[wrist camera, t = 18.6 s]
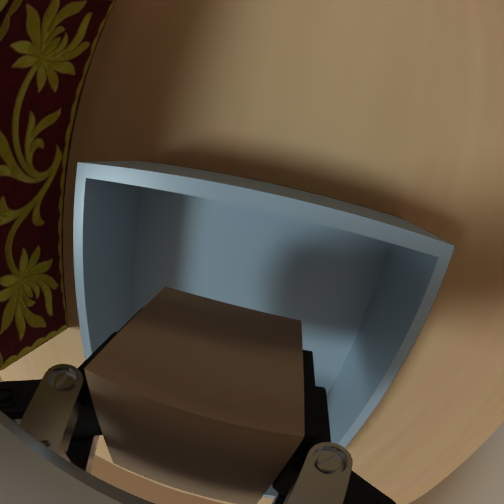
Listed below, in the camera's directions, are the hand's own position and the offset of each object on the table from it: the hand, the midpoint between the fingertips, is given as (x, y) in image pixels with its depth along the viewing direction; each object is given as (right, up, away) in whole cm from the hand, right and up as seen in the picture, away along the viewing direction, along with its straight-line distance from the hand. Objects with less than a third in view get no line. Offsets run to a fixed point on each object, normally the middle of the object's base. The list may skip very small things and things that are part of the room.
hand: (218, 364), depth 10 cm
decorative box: (-20, +13, +7) cm, 25 cm away
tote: (0, -2, +8) cm, 8 cm away
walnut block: (0, 0, +1) cm, 1 cm away
